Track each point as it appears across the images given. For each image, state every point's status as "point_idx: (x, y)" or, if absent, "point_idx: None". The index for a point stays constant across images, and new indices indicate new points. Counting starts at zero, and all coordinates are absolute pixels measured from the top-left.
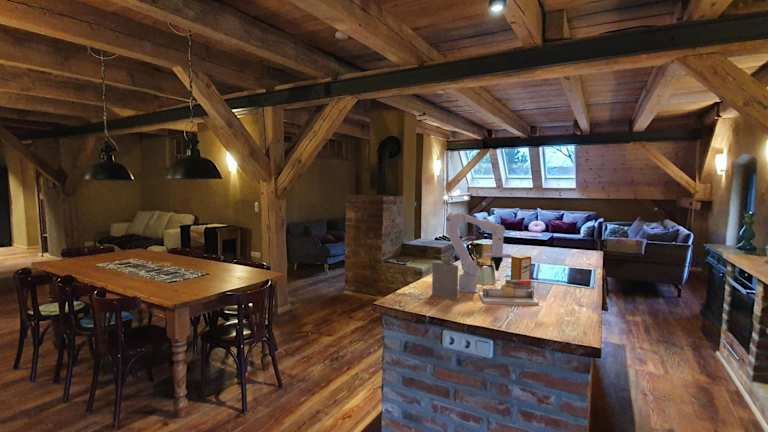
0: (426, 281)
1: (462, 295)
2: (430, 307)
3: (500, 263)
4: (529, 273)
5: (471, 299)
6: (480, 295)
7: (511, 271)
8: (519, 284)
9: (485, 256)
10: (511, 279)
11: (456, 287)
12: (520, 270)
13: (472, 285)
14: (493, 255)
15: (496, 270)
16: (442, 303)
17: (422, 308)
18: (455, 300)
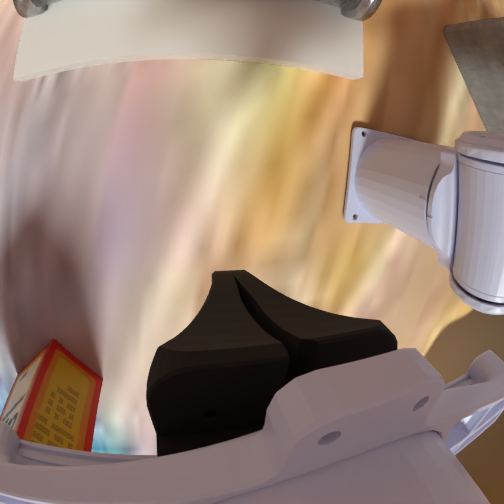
0: (469, 306)
1: (426, 89)
2: (490, 4)
3: (200, 319)
4: (5, 407)
5: (396, 20)
6: (359, 33)
7: (90, 428)
8: (54, 341)
9: (492, 365)
10: (95, 389)
11: (492, 18)
12: (25, 404)
13: (407, 141)
14: (451, 403)
15: (241, 272)
16: (475, 19)
17: (500, 7)
18: (450, 25)
